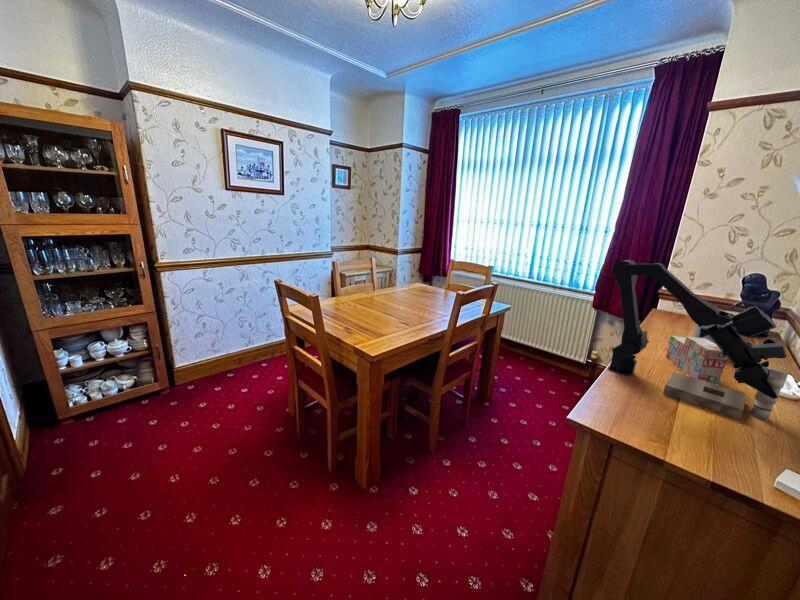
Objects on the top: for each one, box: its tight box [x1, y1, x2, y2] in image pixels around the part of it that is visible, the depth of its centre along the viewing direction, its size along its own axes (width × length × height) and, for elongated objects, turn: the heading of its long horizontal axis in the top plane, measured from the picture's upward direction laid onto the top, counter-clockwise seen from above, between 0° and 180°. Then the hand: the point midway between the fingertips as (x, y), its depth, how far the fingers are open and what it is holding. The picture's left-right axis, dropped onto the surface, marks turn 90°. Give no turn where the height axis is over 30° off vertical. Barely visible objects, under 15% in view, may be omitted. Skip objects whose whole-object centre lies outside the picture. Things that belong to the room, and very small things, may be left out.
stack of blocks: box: [665, 335, 728, 385], centre depth 117 cm, size 21×6×12 cm, turn 165°
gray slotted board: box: [662, 371, 747, 420], centre depth 99 cm, size 17×14×3 cm
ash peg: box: [750, 366, 789, 421], centre depth 89 cm, size 4×4×14 cm
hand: (775, 394), depth 88 cm, fingers open, 6 cm apart
